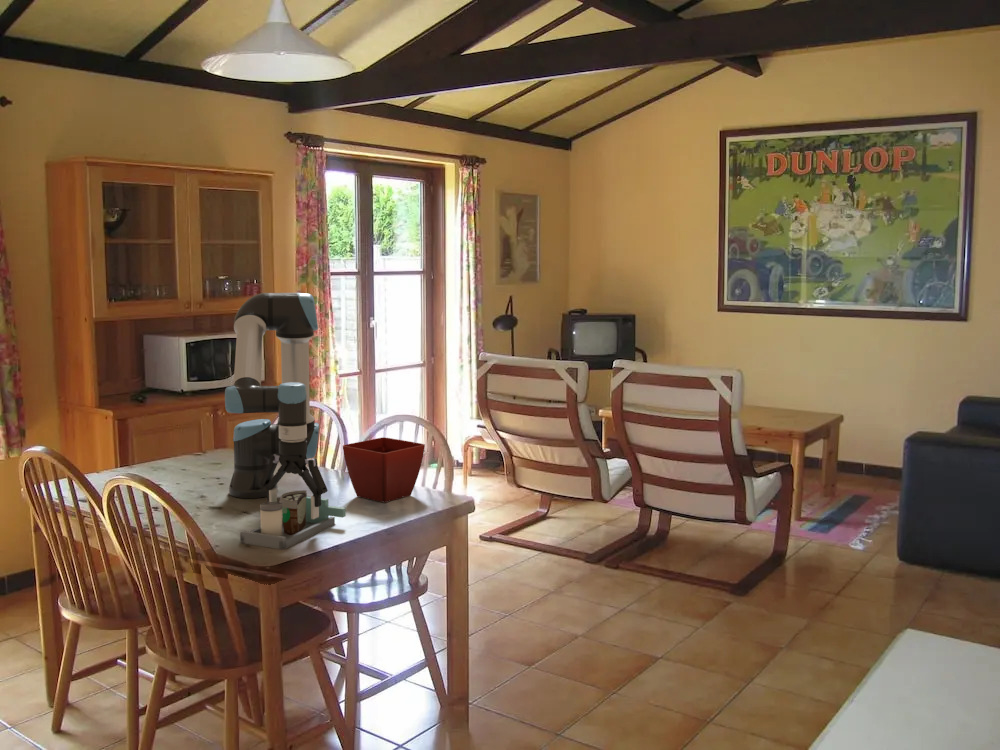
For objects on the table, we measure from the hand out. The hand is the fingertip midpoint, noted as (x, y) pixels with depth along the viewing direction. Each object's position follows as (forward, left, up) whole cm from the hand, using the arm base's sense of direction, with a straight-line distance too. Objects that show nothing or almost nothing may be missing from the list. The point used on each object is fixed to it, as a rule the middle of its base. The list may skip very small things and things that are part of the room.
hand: (294, 515), depth 261 cm
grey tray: (0, -2, -5) cm, 6 cm away
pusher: (+3, +9, -4) cm, 10 cm away
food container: (-1, 0, -5) cm, 5 cm away
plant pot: (+3, +46, -5) cm, 46 cm away
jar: (0, -10, -4) cm, 11 cm away
